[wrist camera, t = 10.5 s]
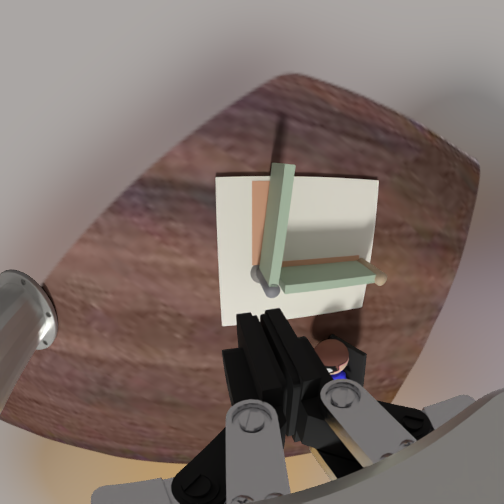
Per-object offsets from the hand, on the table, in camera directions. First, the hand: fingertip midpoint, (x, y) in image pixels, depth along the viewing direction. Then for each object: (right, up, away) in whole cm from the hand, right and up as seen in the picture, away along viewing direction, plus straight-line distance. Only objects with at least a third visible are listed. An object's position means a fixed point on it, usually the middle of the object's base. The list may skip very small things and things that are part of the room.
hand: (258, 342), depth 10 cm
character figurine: (+12, -14, +30) cm, 35 cm away
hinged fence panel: (+2, +7, +20) cm, 21 cm away
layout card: (+6, +3, +22) cm, 23 cm away
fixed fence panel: (+8, +2, +23) cm, 25 cm away
